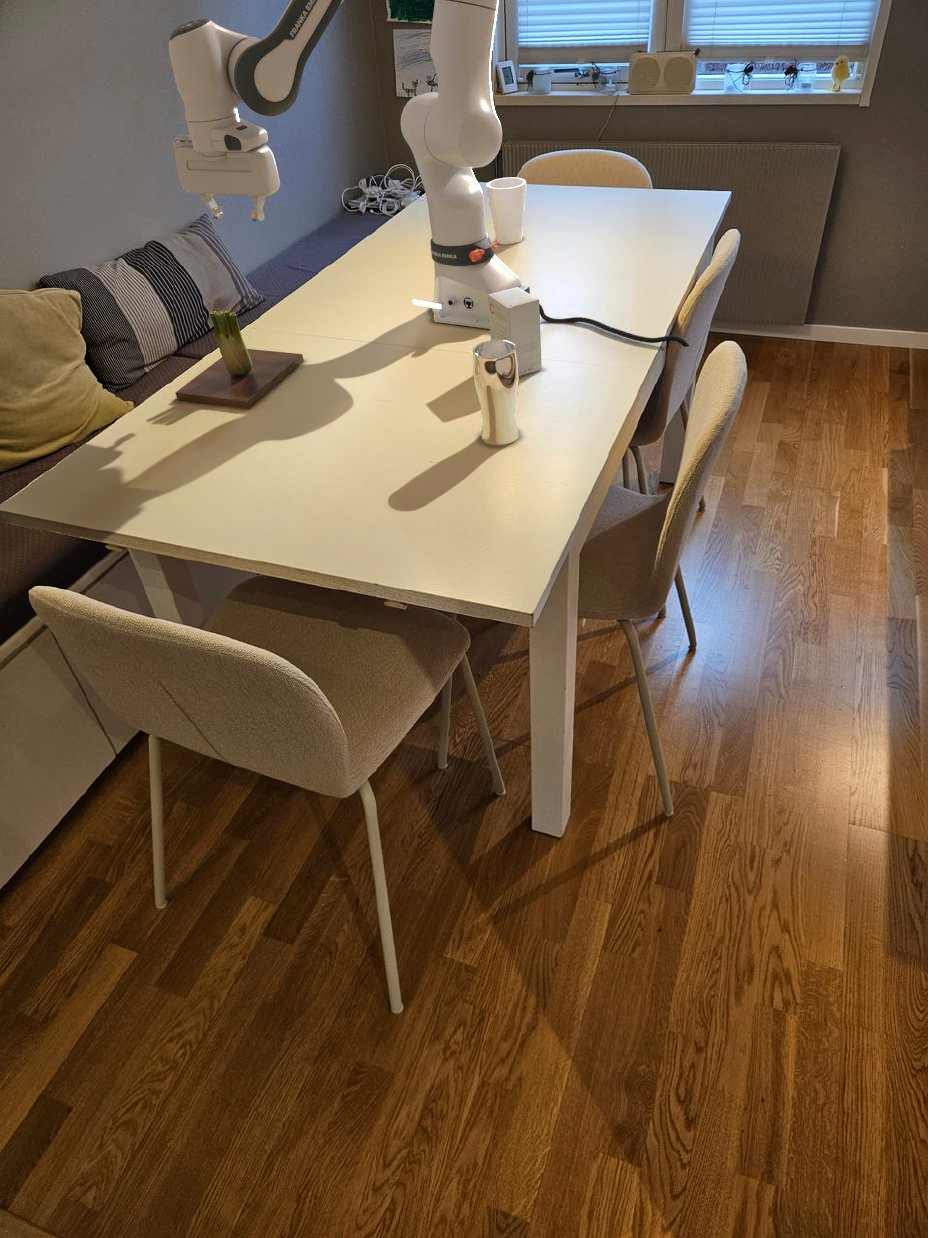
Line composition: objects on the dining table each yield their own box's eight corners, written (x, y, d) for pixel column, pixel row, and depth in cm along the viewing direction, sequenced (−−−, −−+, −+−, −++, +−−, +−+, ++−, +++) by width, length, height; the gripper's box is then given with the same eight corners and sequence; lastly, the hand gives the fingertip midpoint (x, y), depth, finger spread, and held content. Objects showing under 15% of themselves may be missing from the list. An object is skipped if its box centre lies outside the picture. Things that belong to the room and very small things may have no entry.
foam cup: (535, 235, 214) (533, 178, 206) (516, 247, 209) (513, 189, 200) (502, 232, 219) (498, 176, 210) (483, 244, 213) (479, 187, 205)
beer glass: (476, 428, 144) (469, 342, 134) (518, 423, 144) (513, 336, 134) (481, 449, 139) (473, 361, 129) (524, 444, 139) (519, 355, 129)
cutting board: (236, 354, 176) (234, 347, 175) (304, 360, 171) (302, 353, 170) (177, 399, 162) (174, 392, 162) (248, 408, 157) (246, 401, 156)
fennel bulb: (222, 372, 166) (204, 311, 158) (245, 363, 168) (228, 302, 160) (236, 381, 163) (218, 319, 155) (259, 372, 165) (242, 310, 157)
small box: (542, 369, 158) (540, 299, 150) (512, 379, 156) (508, 308, 148) (521, 354, 164) (517, 285, 155) (491, 363, 162) (486, 294, 154)
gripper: (158, 138, 151) (183, 221, 160) (252, 140, 143) (272, 227, 152) (182, 129, 155) (204, 210, 164) (274, 130, 147) (292, 216, 156)
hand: (238, 219), depth 158 cm, fingers open, 8 cm apart
